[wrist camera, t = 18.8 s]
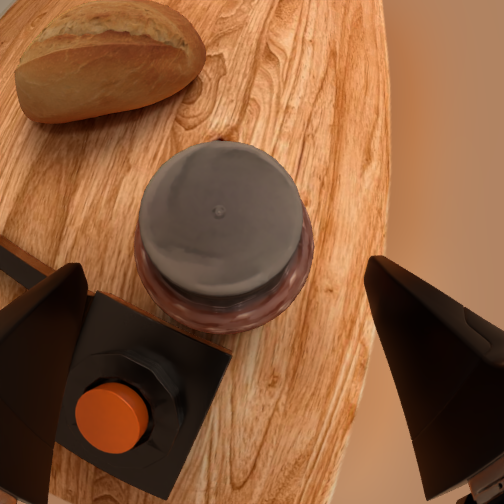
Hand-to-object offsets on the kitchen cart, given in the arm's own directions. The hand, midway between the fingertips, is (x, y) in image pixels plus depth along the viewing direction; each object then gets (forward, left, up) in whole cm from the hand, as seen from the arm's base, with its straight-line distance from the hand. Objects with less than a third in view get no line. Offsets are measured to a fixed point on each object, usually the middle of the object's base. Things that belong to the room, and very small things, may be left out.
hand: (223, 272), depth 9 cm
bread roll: (+10, +15, -9) cm, 20 cm away
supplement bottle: (+1, 0, -9) cm, 9 cm away
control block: (-8, +3, -9) cm, 12 cm away
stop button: (-8, +3, -5) cm, 10 cm away
